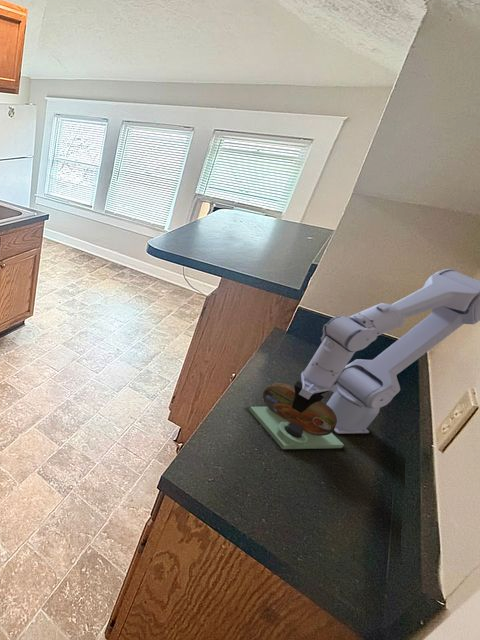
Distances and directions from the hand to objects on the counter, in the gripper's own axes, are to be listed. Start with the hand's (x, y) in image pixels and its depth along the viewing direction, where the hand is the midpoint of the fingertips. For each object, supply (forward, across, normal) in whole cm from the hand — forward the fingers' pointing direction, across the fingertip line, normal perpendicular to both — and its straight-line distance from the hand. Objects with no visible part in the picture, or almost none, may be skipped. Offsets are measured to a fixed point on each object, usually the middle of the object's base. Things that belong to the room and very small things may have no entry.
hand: (299, 406), depth 94 cm
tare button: (+3, -6, -2) cm, 8 cm away
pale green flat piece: (+6, -1, -1) cm, 6 cm away
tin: (+5, 0, 0) cm, 5 cm away
